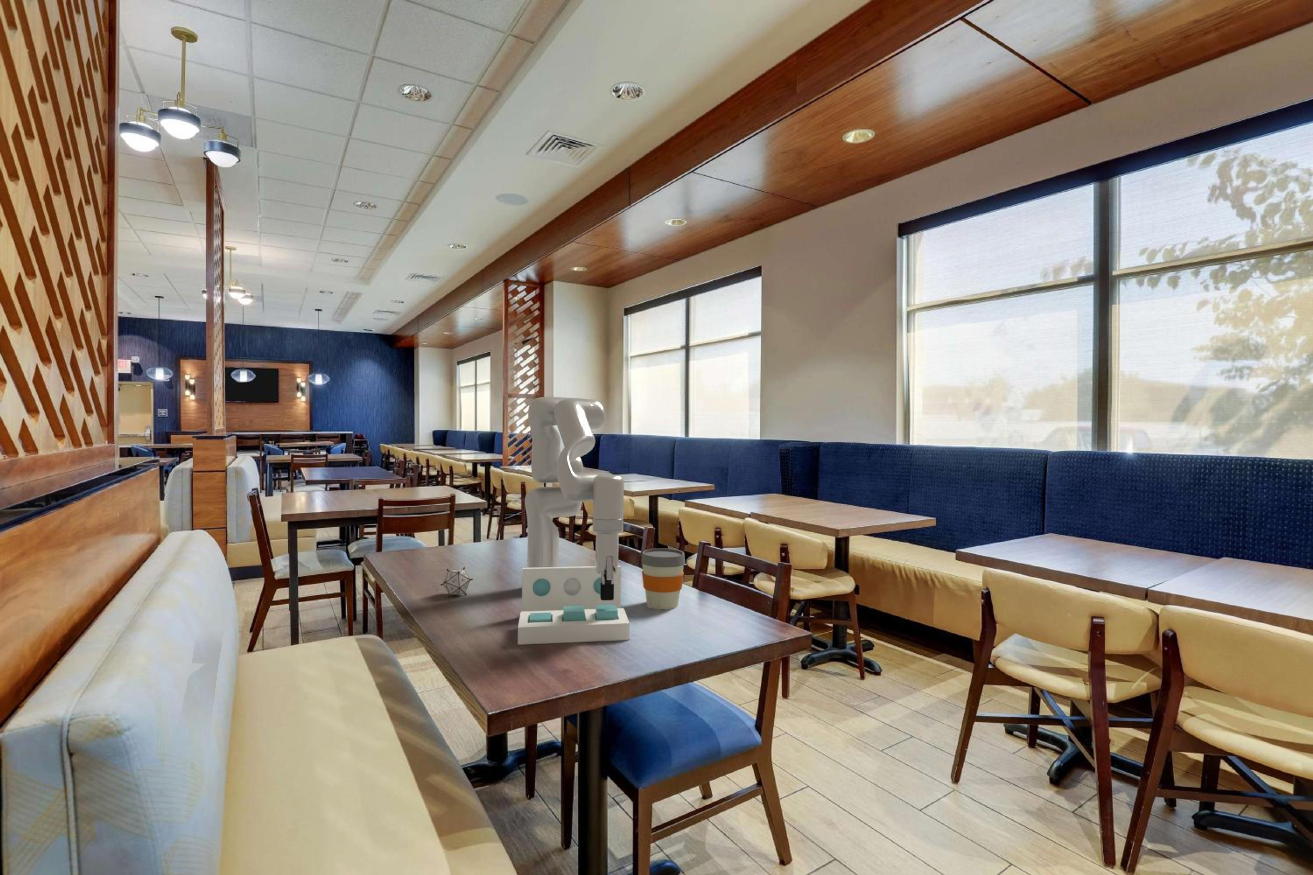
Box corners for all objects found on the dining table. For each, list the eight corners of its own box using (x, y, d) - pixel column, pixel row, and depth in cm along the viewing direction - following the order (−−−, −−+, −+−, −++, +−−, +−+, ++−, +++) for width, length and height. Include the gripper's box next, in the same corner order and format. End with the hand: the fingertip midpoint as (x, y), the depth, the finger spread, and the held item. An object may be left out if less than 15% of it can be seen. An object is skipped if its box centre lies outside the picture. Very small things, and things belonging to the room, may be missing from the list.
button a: (530, 626, 149) (530, 613, 149) (550, 626, 150) (550, 612, 150) (529, 633, 144) (529, 619, 144) (550, 632, 145) (550, 618, 145)
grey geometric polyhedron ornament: (460, 609, 178) (465, 587, 173) (433, 598, 178) (437, 576, 173) (474, 587, 186) (479, 565, 180) (448, 577, 186) (452, 555, 180)
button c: (595, 618, 152) (595, 605, 152) (615, 618, 153) (615, 604, 153) (596, 625, 147) (597, 611, 147) (617, 624, 148) (617, 610, 148)
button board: (520, 627, 152) (520, 611, 152) (623, 623, 157) (623, 608, 157) (517, 644, 140) (518, 627, 140) (629, 639, 145) (629, 623, 145)
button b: (563, 619, 150) (563, 606, 150) (583, 619, 151) (583, 605, 151) (563, 626, 146) (563, 612, 145) (584, 625, 146) (584, 611, 146)
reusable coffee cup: (650, 613, 165) (651, 558, 165) (633, 600, 177) (634, 549, 177) (691, 608, 170) (692, 555, 170) (672, 596, 182) (673, 547, 182)
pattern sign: (522, 613, 163) (523, 565, 163) (618, 610, 167) (619, 563, 167) (521, 620, 157) (522, 571, 157) (621, 617, 162) (622, 568, 161)
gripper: (590, 520, 156) (589, 591, 156) (594, 530, 141) (593, 608, 142) (619, 520, 157) (618, 590, 158) (626, 529, 143) (625, 607, 143)
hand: (607, 599), depth 150 cm, fingers closed
